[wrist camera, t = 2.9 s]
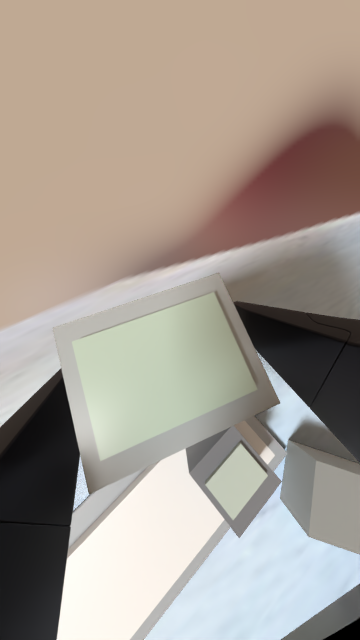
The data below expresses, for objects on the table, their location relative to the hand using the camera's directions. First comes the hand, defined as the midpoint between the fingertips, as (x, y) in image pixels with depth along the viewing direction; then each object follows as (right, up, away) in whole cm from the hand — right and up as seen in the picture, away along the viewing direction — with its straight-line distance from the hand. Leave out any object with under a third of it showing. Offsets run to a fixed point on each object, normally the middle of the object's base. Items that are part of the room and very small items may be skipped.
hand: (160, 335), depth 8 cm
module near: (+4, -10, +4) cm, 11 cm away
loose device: (+13, -13, +5) cm, 20 cm away
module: (0, -3, +6) cm, 7 cm away
